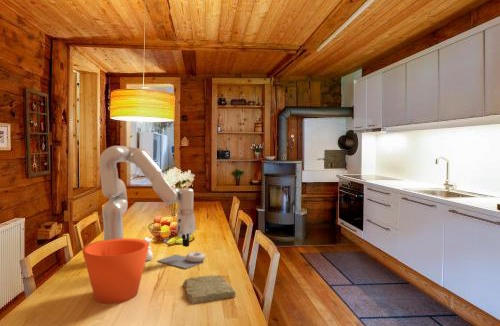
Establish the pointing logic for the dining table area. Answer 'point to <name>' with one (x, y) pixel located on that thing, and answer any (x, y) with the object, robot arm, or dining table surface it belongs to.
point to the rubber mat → (179, 262)
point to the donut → (195, 257)
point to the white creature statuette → (149, 253)
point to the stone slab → (207, 288)
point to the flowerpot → (115, 268)
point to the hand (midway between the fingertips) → (185, 246)
